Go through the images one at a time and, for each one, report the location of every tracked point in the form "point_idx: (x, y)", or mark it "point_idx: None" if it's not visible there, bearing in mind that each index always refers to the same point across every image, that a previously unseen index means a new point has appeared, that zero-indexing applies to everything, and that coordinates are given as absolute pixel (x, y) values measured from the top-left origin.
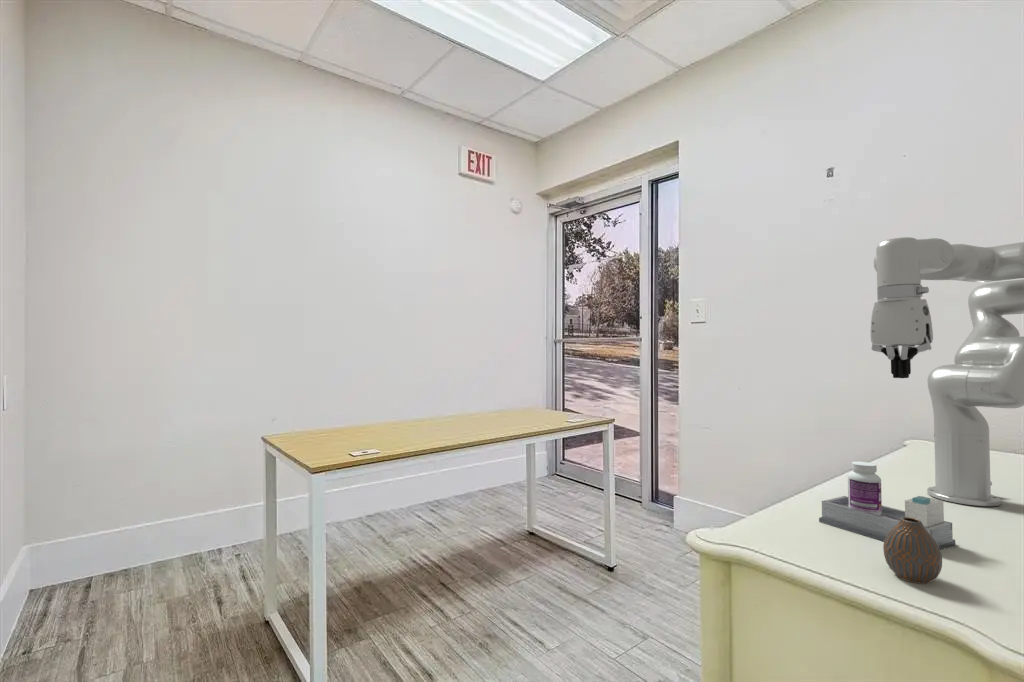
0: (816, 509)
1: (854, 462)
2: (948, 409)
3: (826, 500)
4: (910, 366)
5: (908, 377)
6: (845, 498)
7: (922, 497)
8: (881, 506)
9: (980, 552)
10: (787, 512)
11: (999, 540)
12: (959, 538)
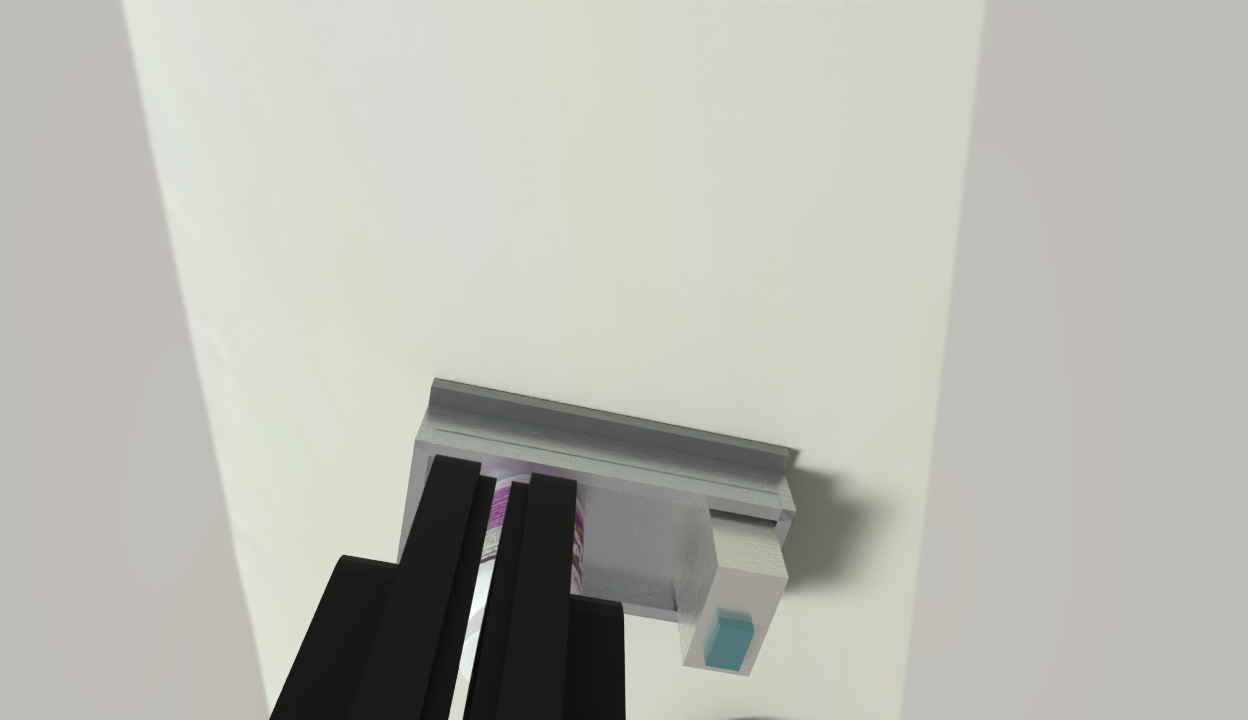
0: (327, 403)
1: (471, 671)
2: None
3: (401, 555)
4: (623, 706)
5: (574, 486)
6: (428, 454)
7: (731, 638)
8: (583, 532)
9: (849, 468)
10: (285, 520)
11: (908, 286)
12: (795, 370)
